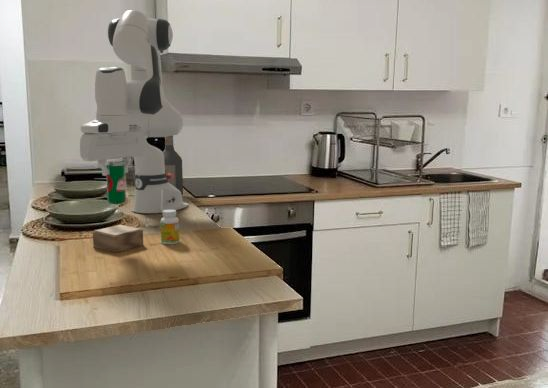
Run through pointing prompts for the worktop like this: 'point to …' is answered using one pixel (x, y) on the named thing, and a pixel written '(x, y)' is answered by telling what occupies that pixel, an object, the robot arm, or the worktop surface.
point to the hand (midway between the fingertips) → (115, 174)
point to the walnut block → (117, 238)
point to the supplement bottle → (169, 227)
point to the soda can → (116, 182)
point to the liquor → (173, 164)
